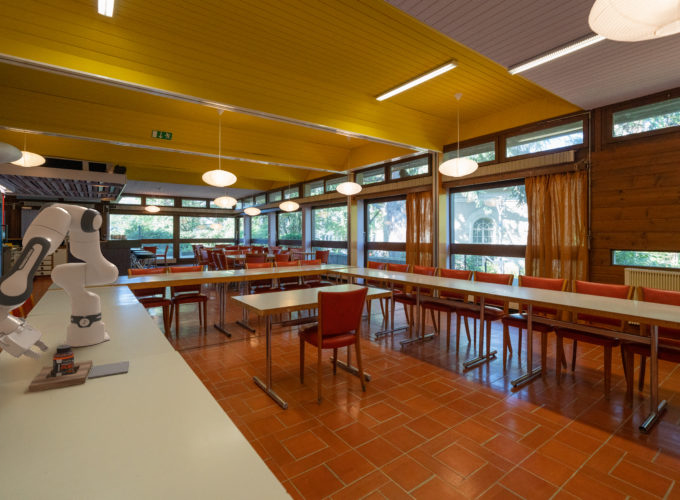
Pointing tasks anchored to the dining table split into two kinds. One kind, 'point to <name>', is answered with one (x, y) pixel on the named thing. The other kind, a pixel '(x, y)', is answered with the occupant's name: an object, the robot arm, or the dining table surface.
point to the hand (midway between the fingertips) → (44, 353)
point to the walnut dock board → (60, 377)
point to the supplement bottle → (63, 361)
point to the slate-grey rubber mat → (109, 369)
